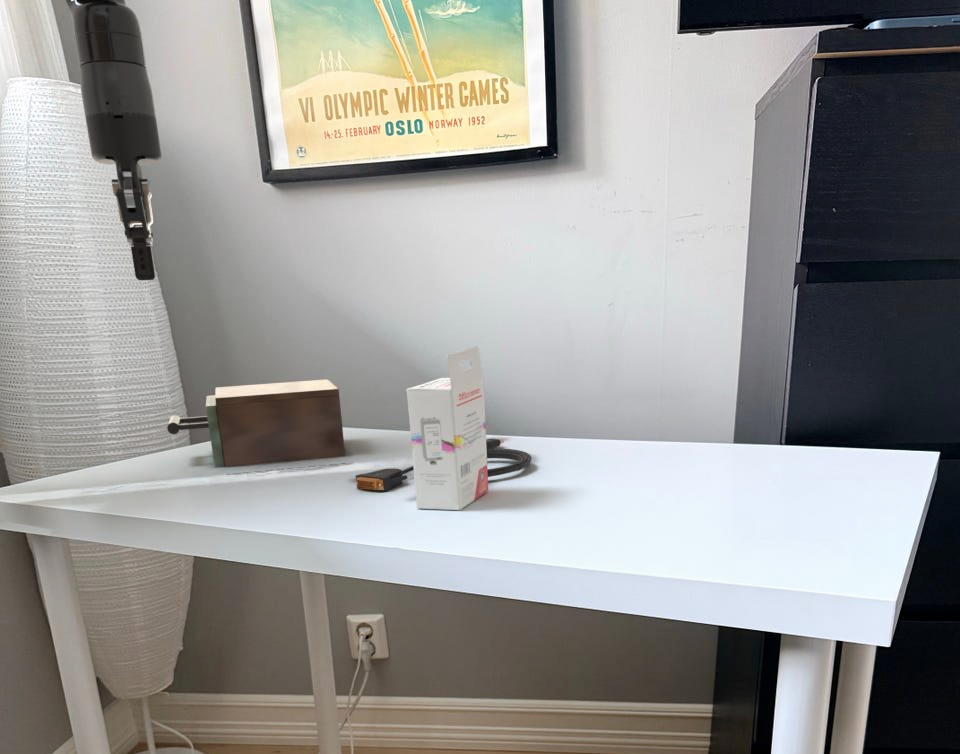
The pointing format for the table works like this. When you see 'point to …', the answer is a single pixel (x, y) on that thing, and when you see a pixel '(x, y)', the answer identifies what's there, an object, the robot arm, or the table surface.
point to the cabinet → (280, 422)
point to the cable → (393, 477)
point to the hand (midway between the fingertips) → (146, 279)
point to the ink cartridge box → (449, 435)
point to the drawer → (211, 424)
